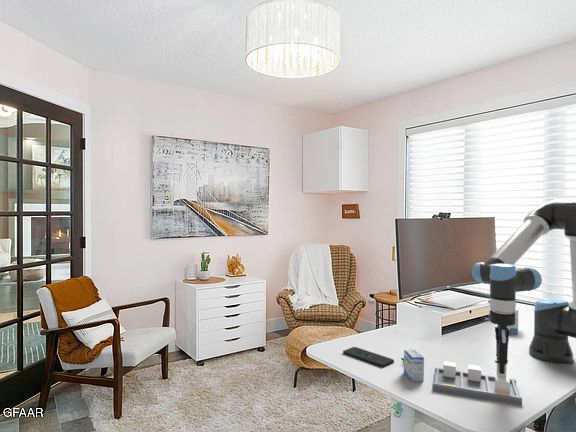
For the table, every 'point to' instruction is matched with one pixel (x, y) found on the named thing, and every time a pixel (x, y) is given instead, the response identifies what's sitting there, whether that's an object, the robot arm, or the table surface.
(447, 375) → the white cube
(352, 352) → the smart home device
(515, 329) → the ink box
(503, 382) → the white cube
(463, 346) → the table surface
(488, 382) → the gray divided tray
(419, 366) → the medicine box
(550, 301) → the robot arm
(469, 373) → the white cube
